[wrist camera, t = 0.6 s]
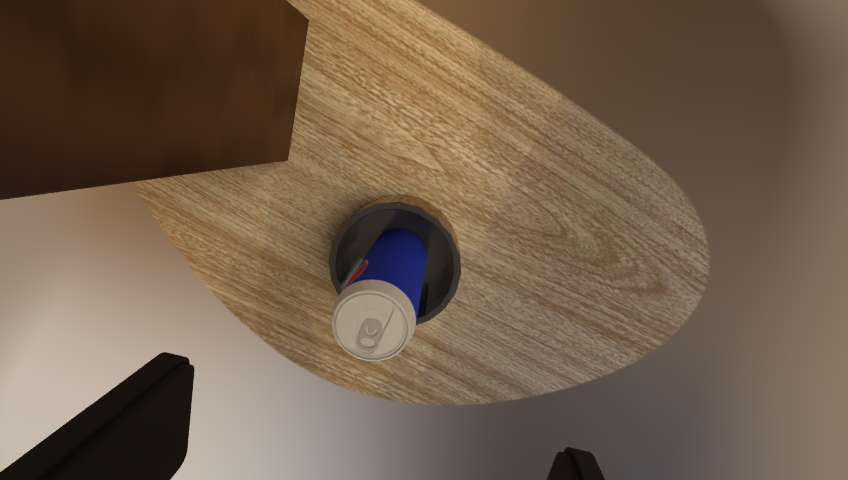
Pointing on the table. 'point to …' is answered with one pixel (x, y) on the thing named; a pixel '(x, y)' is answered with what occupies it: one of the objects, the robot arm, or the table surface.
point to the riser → (143, 89)
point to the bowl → (411, 217)
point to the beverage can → (381, 298)
